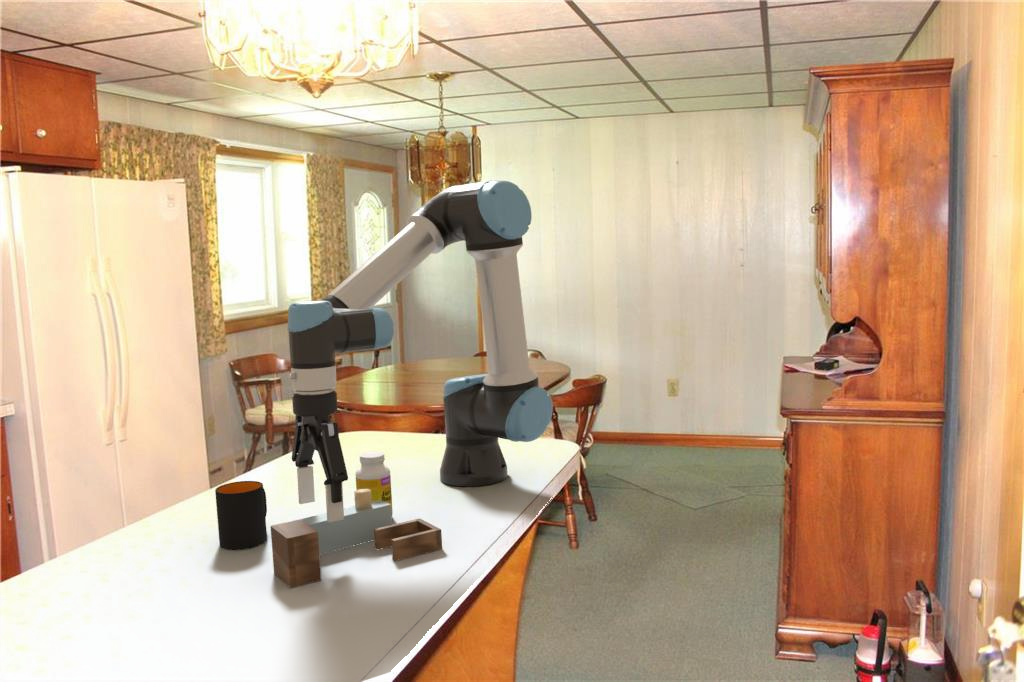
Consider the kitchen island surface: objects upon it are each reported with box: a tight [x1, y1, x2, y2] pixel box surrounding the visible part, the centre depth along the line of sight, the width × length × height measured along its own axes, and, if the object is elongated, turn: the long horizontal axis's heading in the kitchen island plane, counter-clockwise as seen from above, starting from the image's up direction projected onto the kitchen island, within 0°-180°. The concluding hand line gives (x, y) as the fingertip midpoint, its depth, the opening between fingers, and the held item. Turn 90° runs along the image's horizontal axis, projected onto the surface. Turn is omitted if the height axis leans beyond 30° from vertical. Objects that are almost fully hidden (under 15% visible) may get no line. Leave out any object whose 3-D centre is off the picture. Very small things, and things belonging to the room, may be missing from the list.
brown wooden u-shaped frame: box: [374, 517, 443, 562], centre depth 152 cm, size 9×8×4 cm
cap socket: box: [270, 519, 322, 589], centre depth 141 cm, size 5×8×8 cm, turn 33°
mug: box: [214, 480, 268, 551], centre depth 160 cm, size 8×12×10 cm
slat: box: [298, 489, 393, 556], centre depth 155 cm, size 19×4×9 cm, turn 128°
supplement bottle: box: [355, 451, 393, 514], centre depth 169 cm, size 7×7×13 cm
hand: (320, 511), depth 153 cm, fingers open, 13 cm apart
